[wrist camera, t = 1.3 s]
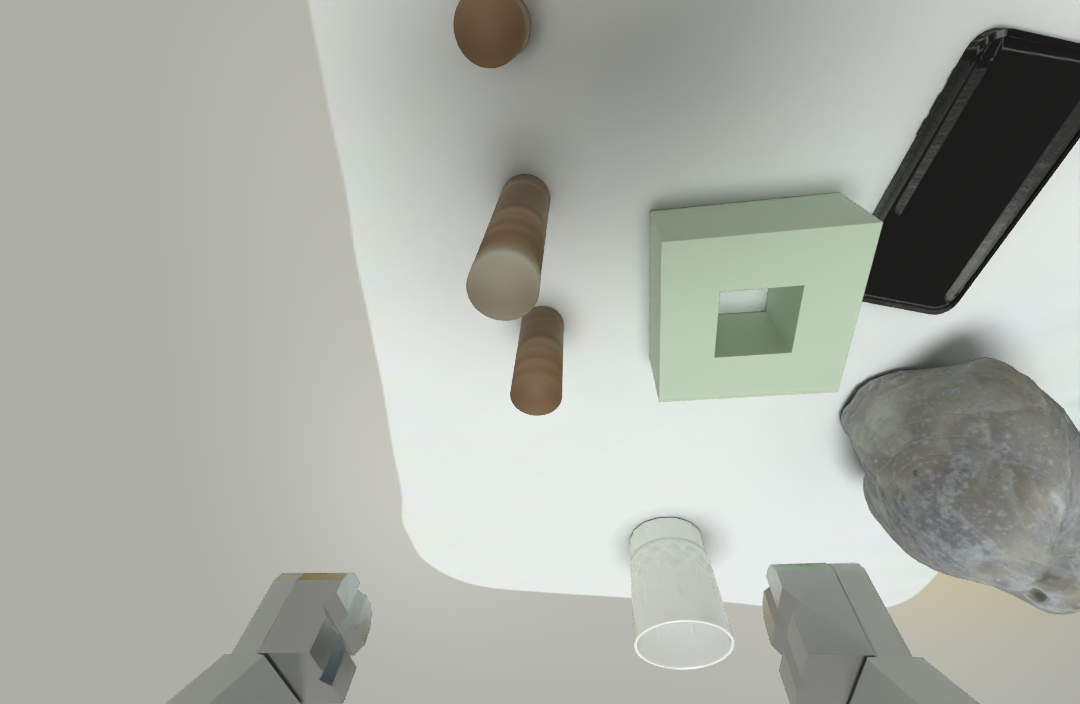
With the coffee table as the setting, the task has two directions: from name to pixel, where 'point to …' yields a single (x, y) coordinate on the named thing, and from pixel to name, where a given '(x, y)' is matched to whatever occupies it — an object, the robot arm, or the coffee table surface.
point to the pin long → (511, 251)
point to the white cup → (676, 598)
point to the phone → (975, 167)
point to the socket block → (755, 263)
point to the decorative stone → (975, 476)
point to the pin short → (491, 30)
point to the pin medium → (539, 362)
